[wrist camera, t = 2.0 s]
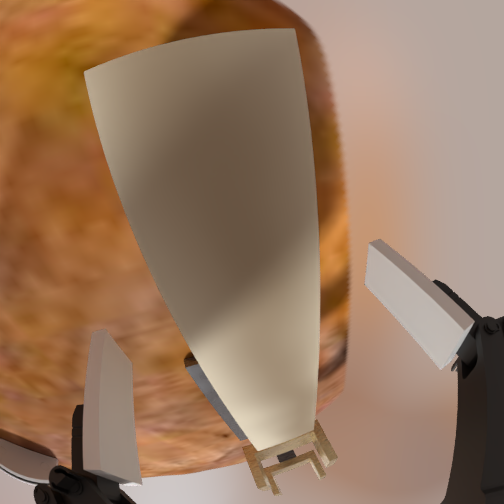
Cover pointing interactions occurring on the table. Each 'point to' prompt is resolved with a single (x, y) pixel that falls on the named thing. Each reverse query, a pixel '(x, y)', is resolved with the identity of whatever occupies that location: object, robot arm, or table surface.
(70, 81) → the table surface
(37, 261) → the table surface
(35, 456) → the grey curved block
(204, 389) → the bracket stand
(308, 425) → the beige long block
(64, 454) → the table surface
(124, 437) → the robot arm
